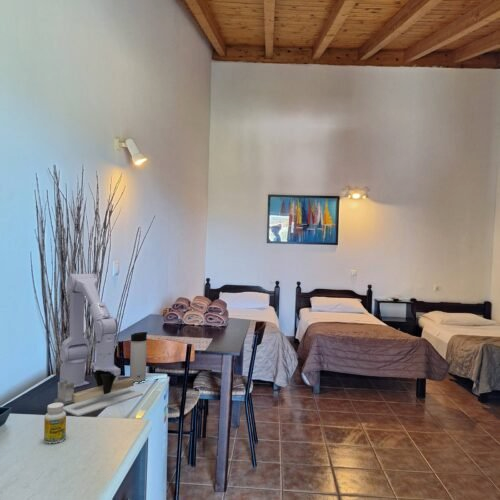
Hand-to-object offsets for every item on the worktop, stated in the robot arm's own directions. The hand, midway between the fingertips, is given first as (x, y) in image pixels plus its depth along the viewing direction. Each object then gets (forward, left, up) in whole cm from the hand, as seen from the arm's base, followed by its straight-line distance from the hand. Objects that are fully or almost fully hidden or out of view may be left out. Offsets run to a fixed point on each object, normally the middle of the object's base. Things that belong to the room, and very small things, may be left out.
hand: (104, 392), depth 141 cm
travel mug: (-9, +22, -3) cm, 24 cm away
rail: (0, 0, 0) cm, 0 cm away
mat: (0, 0, -3) cm, 3 cm away
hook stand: (-9, 0, -3) cm, 10 cm away
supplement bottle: (+15, -26, -3) cm, 30 cm away
